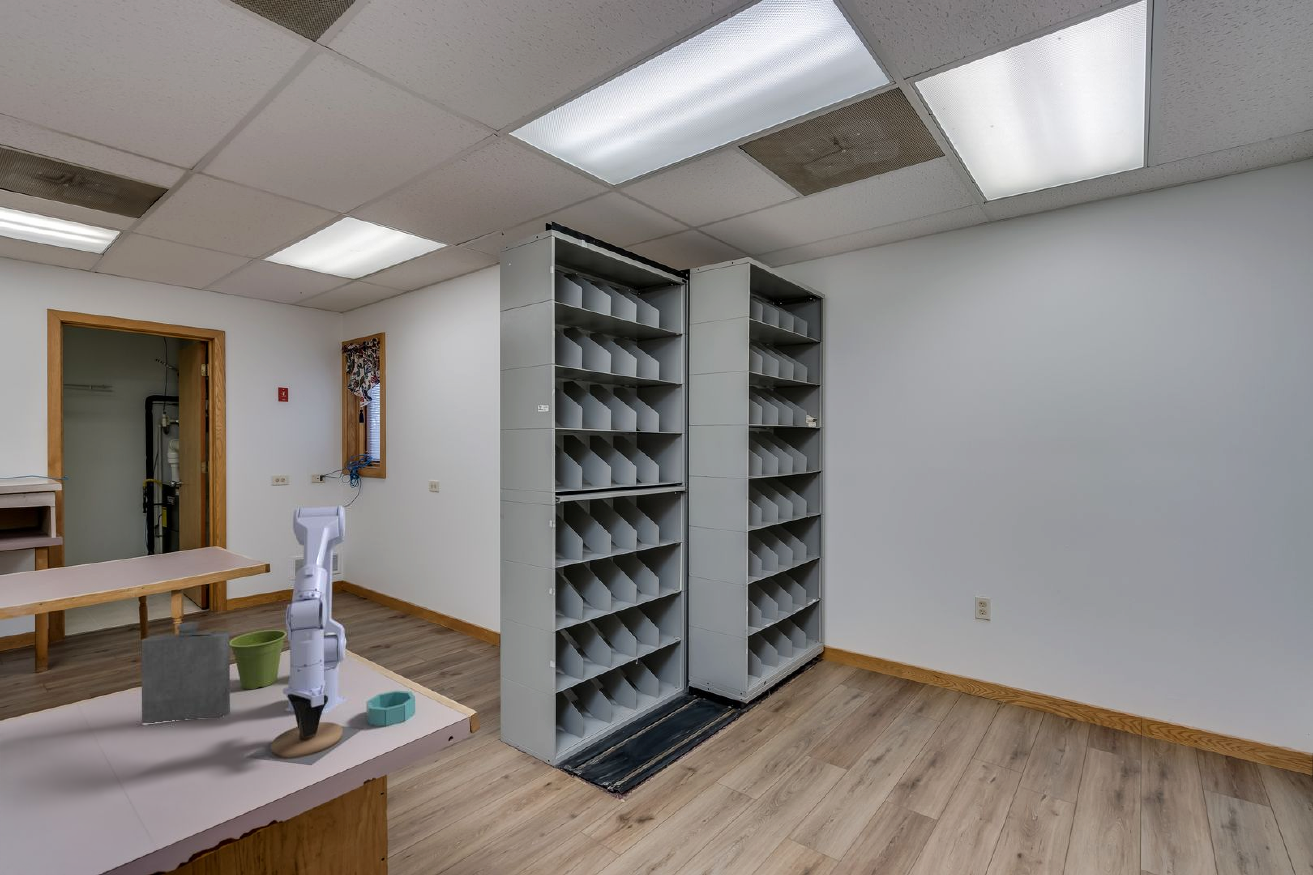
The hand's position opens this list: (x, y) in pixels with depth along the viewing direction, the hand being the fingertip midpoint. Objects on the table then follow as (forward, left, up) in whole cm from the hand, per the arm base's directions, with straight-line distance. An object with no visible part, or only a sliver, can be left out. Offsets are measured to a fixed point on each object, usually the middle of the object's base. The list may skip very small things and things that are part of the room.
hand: (307, 731), depth 118 cm
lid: (0, 0, -2) cm, 2 cm away
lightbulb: (-20, +31, -3) cm, 37 cm away
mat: (0, 0, -2) cm, 2 cm away
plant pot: (-34, +23, -3) cm, 41 cm away
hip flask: (-34, +5, -3) cm, 34 cm away
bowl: (+9, +13, -3) cm, 16 cm away
